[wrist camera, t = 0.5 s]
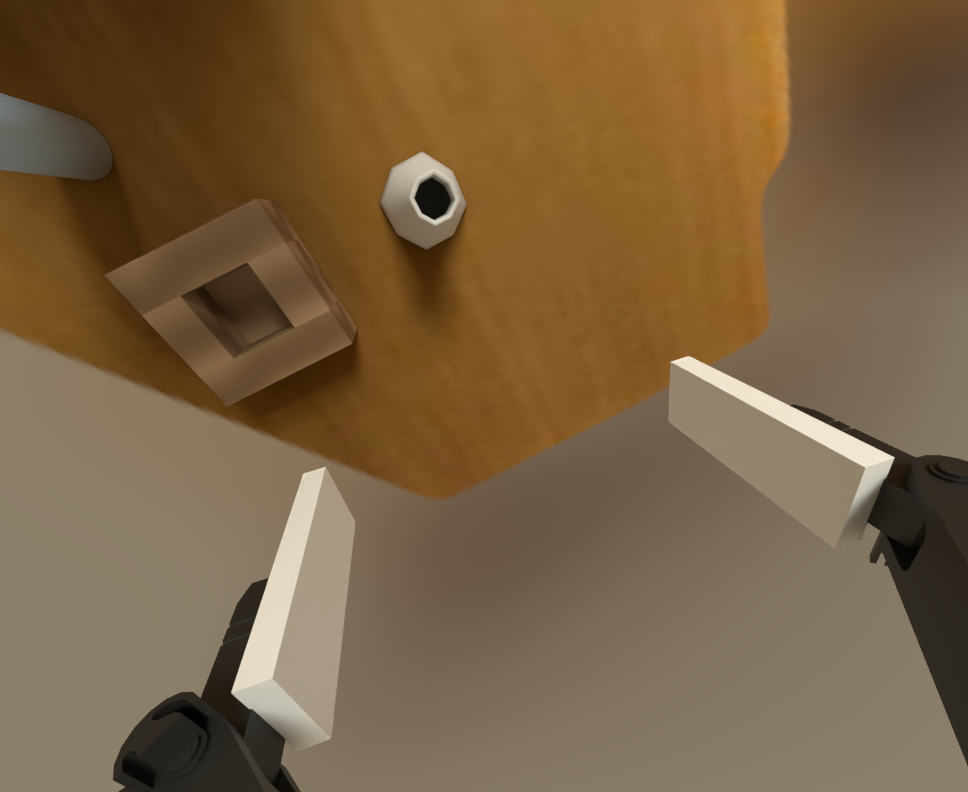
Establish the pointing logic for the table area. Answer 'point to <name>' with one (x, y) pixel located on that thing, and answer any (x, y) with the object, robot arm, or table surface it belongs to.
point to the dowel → (50, 142)
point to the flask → (423, 201)
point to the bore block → (238, 300)
